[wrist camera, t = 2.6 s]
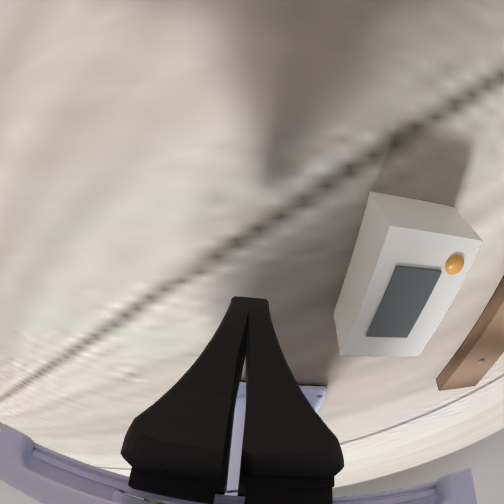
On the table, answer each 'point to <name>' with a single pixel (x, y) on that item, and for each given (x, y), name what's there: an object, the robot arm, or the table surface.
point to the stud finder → (402, 275)
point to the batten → (477, 347)
